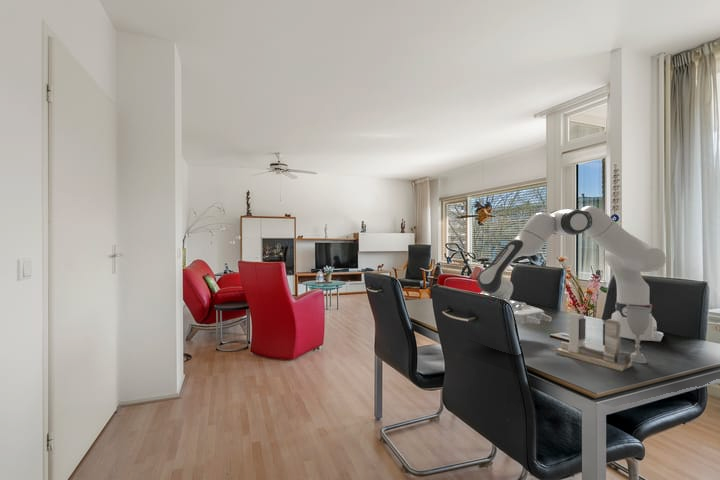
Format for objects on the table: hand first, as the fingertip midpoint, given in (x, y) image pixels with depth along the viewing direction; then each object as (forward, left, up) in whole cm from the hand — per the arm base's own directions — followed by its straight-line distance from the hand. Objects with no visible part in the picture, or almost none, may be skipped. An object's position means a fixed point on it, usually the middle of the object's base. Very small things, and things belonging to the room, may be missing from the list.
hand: (545, 320), depth 134 cm
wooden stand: (+1, +17, -10) cm, 20 cm away
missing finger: (+1, +12, -8) cm, 14 cm away
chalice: (-11, +26, -10) cm, 30 cm away
